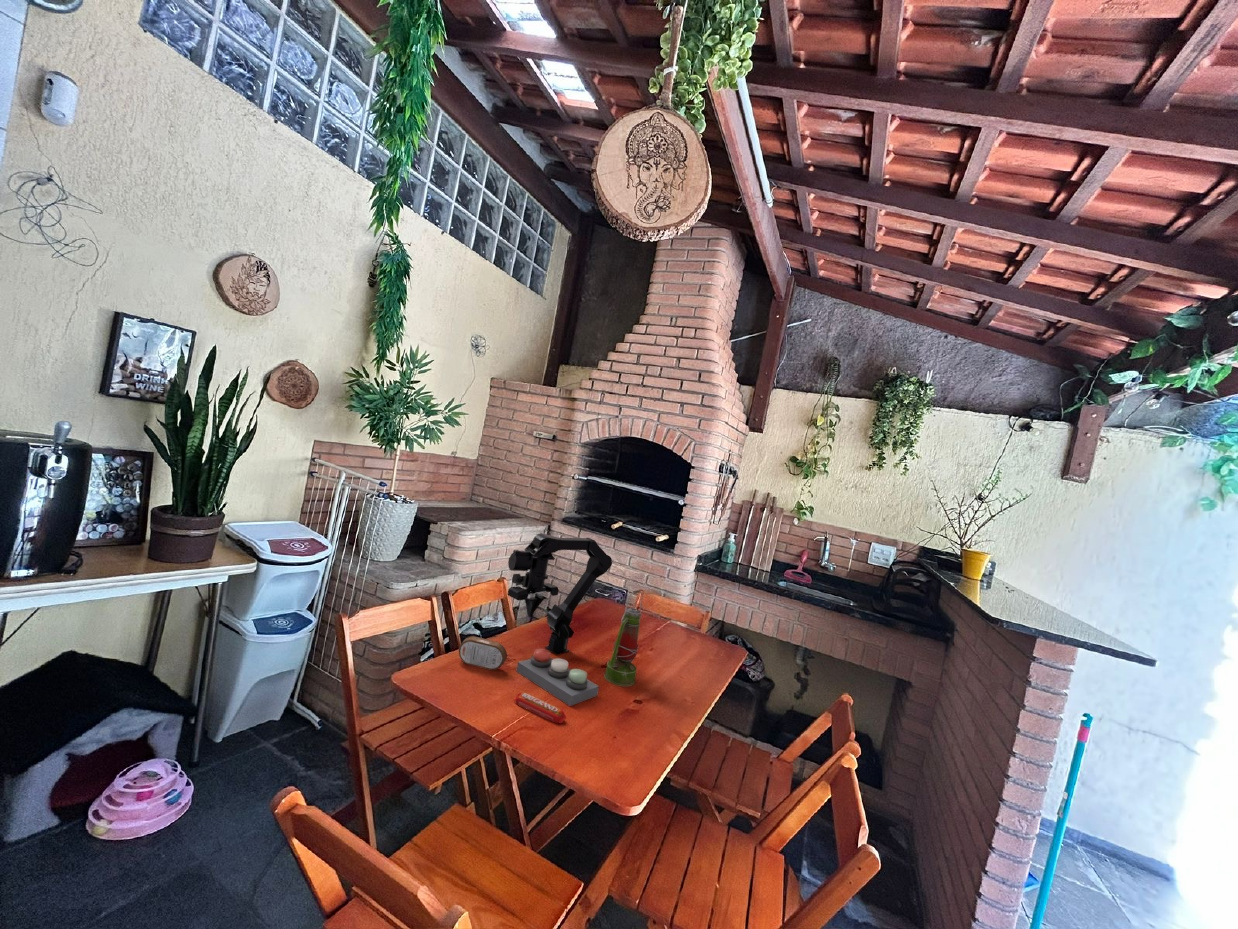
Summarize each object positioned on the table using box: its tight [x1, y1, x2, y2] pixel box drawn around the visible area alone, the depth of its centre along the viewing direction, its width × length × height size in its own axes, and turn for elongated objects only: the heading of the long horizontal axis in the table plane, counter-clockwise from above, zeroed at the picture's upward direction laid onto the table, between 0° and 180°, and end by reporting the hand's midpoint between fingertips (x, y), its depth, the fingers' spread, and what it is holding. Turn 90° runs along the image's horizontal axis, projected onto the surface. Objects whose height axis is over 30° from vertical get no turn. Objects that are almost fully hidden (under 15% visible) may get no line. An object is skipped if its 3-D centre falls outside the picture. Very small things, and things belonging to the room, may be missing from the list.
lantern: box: [603, 589, 644, 687], centre depth 174 cm, size 14×11×30 cm
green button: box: [569, 668, 588, 684], centre depth 157 cm, size 5×5×2 cm
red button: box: [533, 648, 552, 662], centre depth 167 cm, size 5×5×2 cm
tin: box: [458, 636, 508, 671], centre depth 163 cm, size 15×3×8 cm, turn 84°
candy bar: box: [513, 692, 567, 724], centre depth 143 cm, size 16×4×3 cm, turn 64°
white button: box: [551, 658, 569, 672], centre depth 162 cm, size 5×5×2 cm
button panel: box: [516, 654, 600, 707], centre depth 162 cm, size 12×24×4 cm, turn 51°
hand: (529, 615), depth 179 cm, fingers closed
